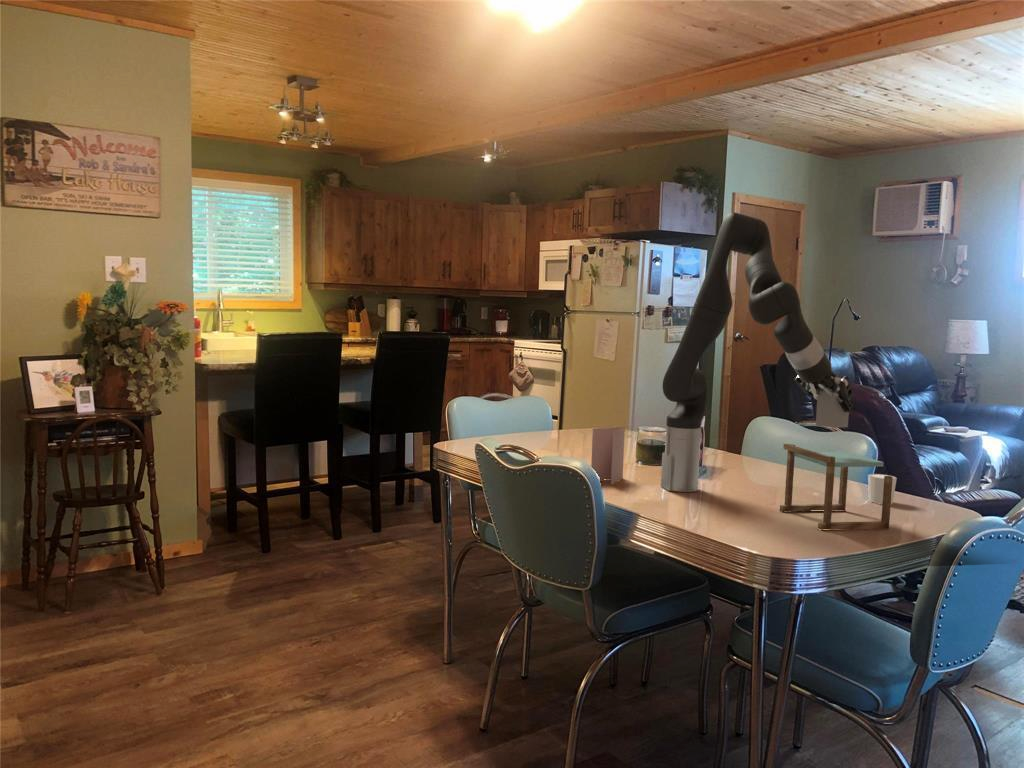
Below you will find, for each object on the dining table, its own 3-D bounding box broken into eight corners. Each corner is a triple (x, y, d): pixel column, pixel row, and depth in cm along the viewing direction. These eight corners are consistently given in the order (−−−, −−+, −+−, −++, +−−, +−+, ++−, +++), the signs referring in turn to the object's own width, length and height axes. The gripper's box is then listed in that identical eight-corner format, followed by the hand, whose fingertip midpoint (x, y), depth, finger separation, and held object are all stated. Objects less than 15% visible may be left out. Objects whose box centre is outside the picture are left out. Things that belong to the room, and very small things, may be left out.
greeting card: (620, 477, 224) (622, 426, 223) (637, 482, 218) (639, 430, 217) (588, 481, 218) (590, 428, 217) (605, 486, 212) (607, 432, 211)
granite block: (833, 427, 179) (836, 384, 178) (815, 425, 183) (818, 383, 182) (847, 427, 181) (850, 384, 180) (829, 424, 185) (832, 382, 185)
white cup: (900, 505, 200) (902, 478, 199) (877, 505, 198) (879, 478, 198) (883, 499, 206) (885, 473, 206) (860, 499, 205) (862, 473, 205)
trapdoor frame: (820, 530, 172) (825, 456, 171) (779, 510, 189) (783, 443, 188) (888, 529, 175) (894, 456, 174) (842, 509, 192) (846, 443, 191)
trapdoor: (827, 466, 173) (827, 462, 173) (793, 455, 187) (793, 451, 187) (883, 466, 176) (883, 462, 176) (846, 455, 189) (846, 451, 189)
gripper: (842, 346, 171) (873, 400, 178) (790, 344, 183) (821, 394, 190) (825, 370, 169) (857, 423, 175) (773, 366, 181) (805, 416, 188)
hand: (838, 408), depth 183 cm, fingers closed on granite block, 5 cm apart
